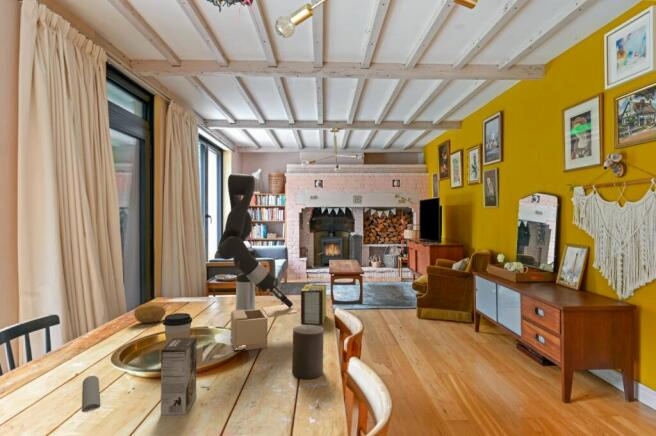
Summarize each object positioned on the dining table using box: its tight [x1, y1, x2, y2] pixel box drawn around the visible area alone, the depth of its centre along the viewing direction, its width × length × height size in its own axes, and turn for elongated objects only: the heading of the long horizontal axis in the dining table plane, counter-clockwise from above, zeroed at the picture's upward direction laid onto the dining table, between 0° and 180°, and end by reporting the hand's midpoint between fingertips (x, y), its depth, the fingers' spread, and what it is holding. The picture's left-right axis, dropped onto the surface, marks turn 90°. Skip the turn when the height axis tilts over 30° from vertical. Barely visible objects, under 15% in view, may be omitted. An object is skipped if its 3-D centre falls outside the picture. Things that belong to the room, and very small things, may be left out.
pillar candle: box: [291, 324, 325, 380], centre depth 112 cm, size 10×10×15 cm
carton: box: [230, 308, 268, 351], centre depth 138 cm, size 15×12×12 cm
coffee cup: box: [162, 312, 193, 346], centre depth 121 cm, size 9×9×15 cm
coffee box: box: [160, 337, 197, 416], centre depth 92 cm, size 9×6×16 cm
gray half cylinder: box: [81, 375, 101, 412], centre depth 98 cm, size 4×20×2 cm, turn 34°
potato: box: [133, 301, 167, 324], centre depth 165 cm, size 10×13×9 cm
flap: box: [262, 303, 298, 318], centre depth 142 cm, size 14×1×11 cm
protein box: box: [300, 284, 327, 325], centre depth 172 cm, size 10×15×16 cm
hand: (291, 305), depth 144 cm, fingers closed
